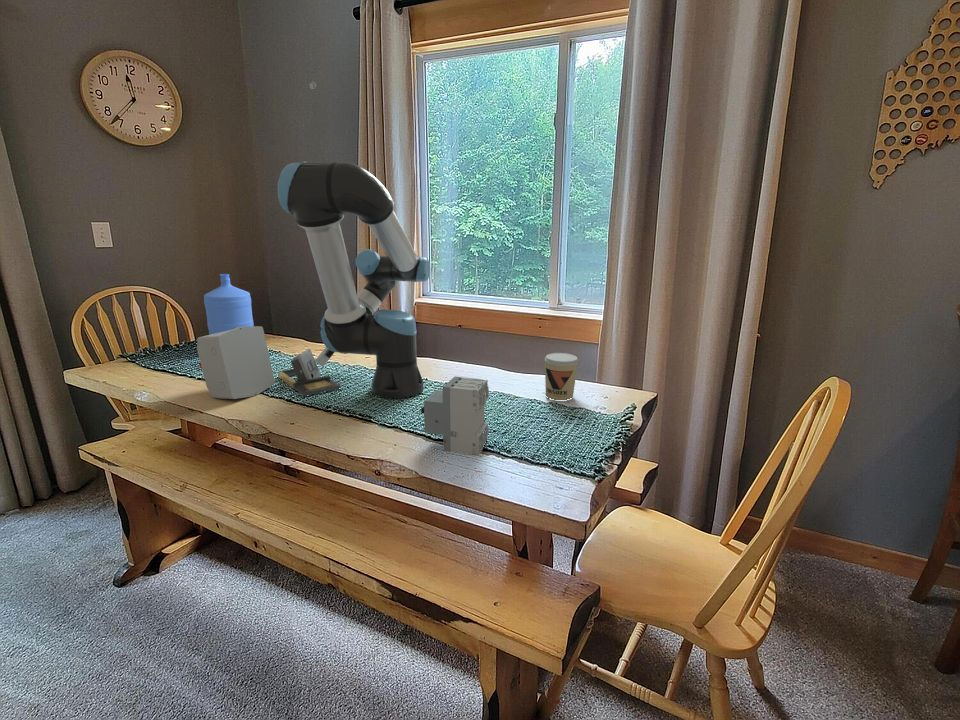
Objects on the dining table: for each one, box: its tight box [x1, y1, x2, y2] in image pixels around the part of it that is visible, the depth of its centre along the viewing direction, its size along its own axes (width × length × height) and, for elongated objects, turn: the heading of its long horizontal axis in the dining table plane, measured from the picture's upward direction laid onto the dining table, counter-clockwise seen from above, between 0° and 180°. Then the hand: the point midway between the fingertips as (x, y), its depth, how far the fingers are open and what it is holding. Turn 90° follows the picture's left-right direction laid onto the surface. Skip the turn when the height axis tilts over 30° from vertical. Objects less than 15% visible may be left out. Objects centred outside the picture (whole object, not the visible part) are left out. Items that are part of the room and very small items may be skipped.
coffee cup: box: [544, 352, 579, 400], centre depth 143 cm, size 9×9×12 cm
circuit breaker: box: [420, 376, 490, 456], centre depth 113 cm, size 8×14×15 cm, turn 73°
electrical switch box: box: [196, 325, 276, 400], centre depth 144 cm, size 15×15×20 cm
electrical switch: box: [290, 348, 321, 382], centre depth 155 cm, size 9×5×9 cm, turn 0°
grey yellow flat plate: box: [277, 368, 342, 397], centre depth 154 cm, size 22×11×2 cm, turn 39°
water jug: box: [203, 273, 255, 335], centre depth 187 cm, size 16×16×28 cm
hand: (318, 364), depth 159 cm, fingers closed
